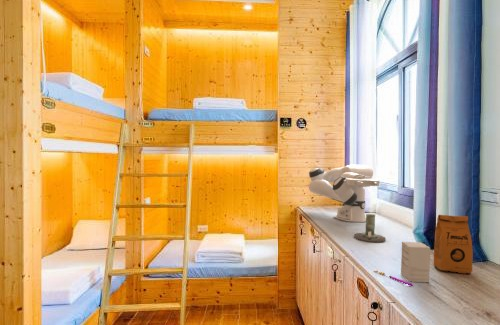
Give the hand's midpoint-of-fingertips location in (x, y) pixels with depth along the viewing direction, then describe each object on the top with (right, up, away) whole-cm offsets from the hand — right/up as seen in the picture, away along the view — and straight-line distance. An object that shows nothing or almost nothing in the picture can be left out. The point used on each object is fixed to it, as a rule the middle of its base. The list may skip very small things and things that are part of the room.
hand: (369, 184), depth 189 cm
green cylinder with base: (-6, -28, -15) cm, 32 cm away
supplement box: (-11, -30, -72) cm, 79 cm away
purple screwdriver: (-20, -30, -73) cm, 81 cm away
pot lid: (-6, -29, -15) cm, 33 cm away
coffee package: (+10, -30, -62) cm, 70 cm away
